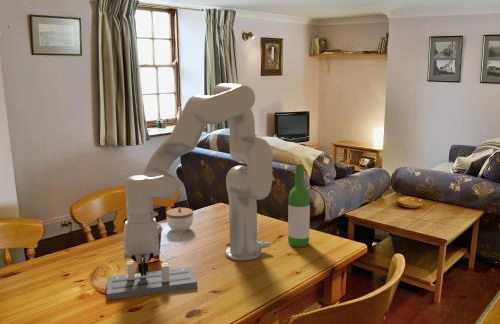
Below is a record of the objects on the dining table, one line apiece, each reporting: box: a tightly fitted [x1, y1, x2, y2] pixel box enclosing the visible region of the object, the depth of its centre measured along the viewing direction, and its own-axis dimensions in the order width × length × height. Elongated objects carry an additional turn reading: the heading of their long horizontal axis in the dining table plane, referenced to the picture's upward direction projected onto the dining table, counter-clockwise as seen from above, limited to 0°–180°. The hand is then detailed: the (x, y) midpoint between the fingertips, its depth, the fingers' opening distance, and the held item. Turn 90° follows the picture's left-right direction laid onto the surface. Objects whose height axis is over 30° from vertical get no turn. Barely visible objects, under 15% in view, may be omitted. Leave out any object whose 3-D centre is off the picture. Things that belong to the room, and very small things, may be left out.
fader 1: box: [126, 260, 136, 280], centre depth 143 cm, size 2×2×5 cm
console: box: [106, 266, 198, 301], centre depth 143 cm, size 26×11×2 cm, turn 106°
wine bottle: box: [287, 164, 311, 248], centre depth 172 cm, size 8×8×30 cm
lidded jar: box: [165, 207, 194, 233], centre depth 190 cm, size 11×11×9 cm
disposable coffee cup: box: [140, 222, 164, 260], centre depth 161 cm, size 10×10×12 cm
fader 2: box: [160, 262, 170, 282], centre depth 141 cm, size 2×2×5 cm
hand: (143, 274), depth 144 cm, fingers closed
